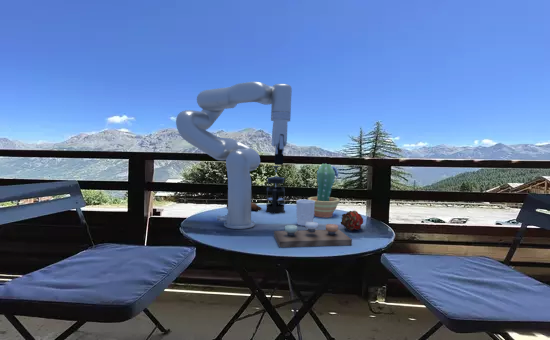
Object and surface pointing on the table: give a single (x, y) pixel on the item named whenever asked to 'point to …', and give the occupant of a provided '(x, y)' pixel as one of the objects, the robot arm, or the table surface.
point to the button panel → (311, 239)
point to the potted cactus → (325, 191)
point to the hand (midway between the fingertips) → (278, 164)
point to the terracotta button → (331, 228)
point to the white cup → (305, 211)
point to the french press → (275, 195)
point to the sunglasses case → (253, 206)
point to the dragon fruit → (352, 220)
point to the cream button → (311, 226)
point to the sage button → (290, 230)
